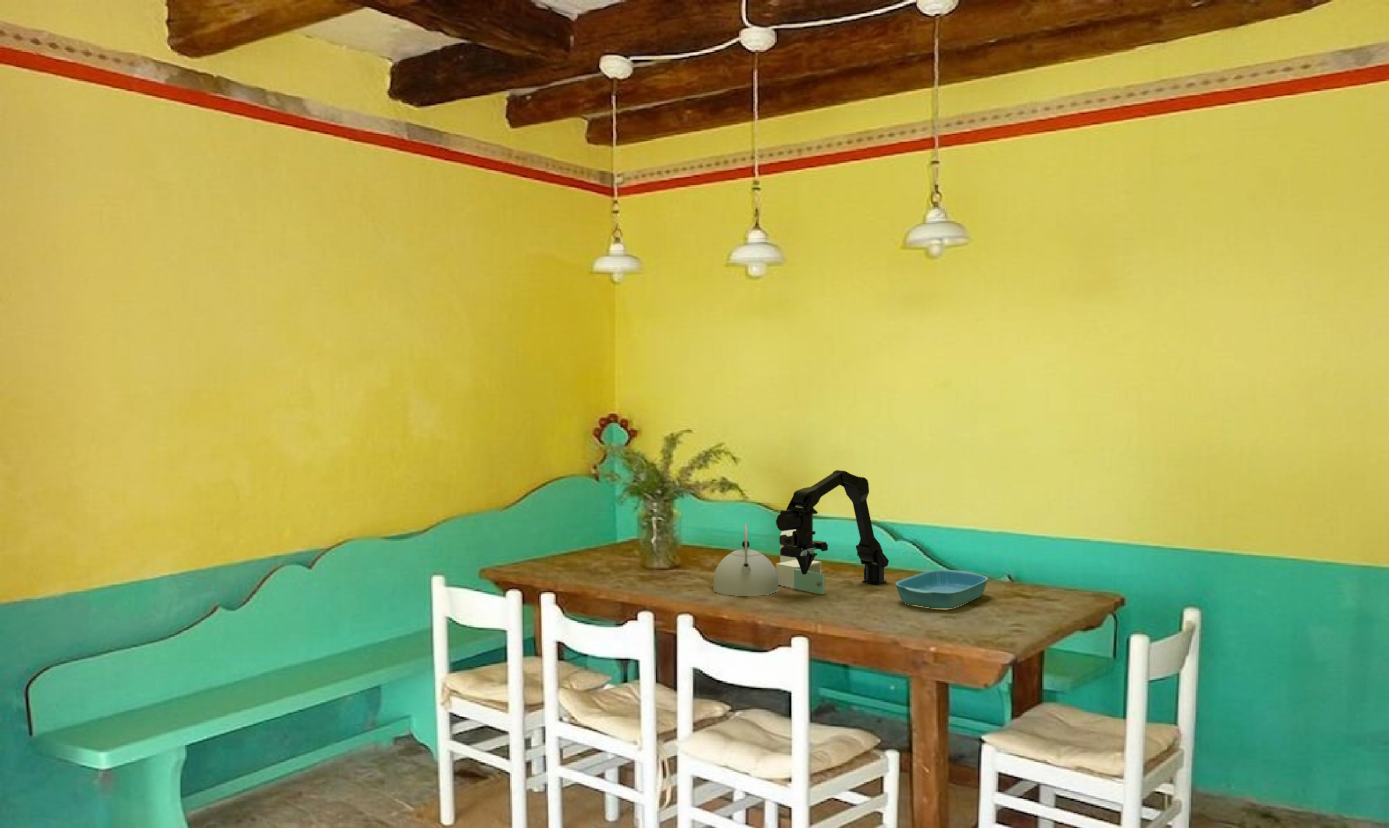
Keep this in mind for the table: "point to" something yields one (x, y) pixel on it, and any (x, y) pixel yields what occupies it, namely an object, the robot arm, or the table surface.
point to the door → (809, 581)
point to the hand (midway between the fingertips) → (804, 574)
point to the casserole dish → (941, 588)
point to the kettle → (745, 573)
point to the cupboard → (792, 571)
